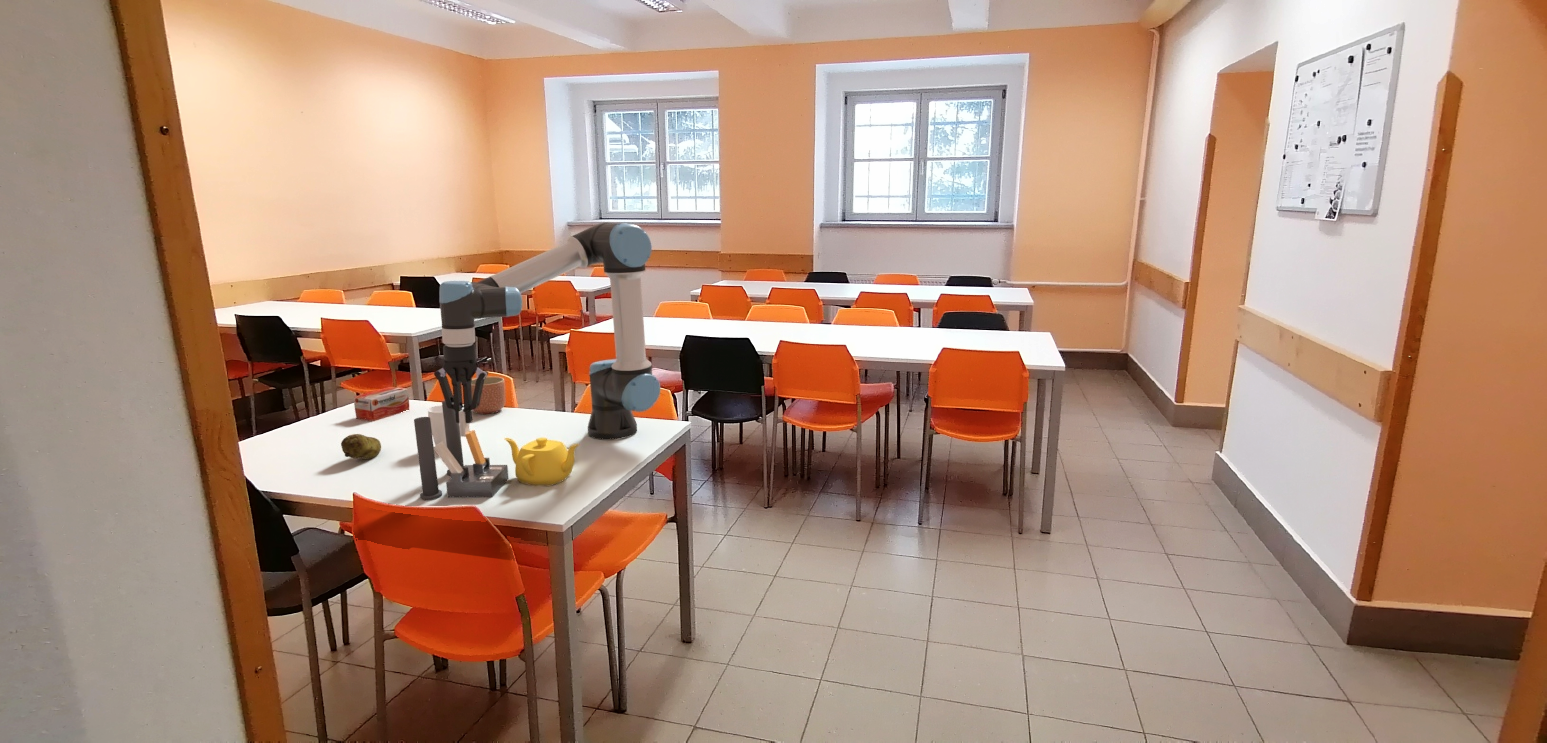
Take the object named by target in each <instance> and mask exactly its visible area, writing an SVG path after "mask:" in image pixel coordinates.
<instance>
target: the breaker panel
mask: <svg viewBox="0 0 1547 743" xmlns="http://www.w3.org/2000/svg"><path fill="white" fill-rule="evenodd" d="M484 458H485V461H486V462H487V465H486V466H485V467H483V464H475V463H472V464H464V467H462V469H463V470H465V472H466V473H465V475H464V476H463V477H462V476H461V473H451V474H450V475H451V476H450V478H449V479H448V480H447V481H445V484H446V496H447V498H493V497H494V496H495V495H496V494H497V492H498V491H500V490H501V489H502V487H503V486H504V485H505V484H506V483H507V482H508V481H509V478H510V477H509V470H508V469H509V468H508V464H491V461H490V457H484Z"/></svg>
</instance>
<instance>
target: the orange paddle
mask: <svg viewBox="0 0 1547 743" xmlns="http://www.w3.org/2000/svg"><path fill="white" fill-rule="evenodd" d="M465 436H466V437H465V439H466V441H467V444H468V447H469V449H470V452H471V455H472V458H473V460H474V464H483V467H485V466H486V465H487V462H486V461H485V458H486V457H485V456H484V453H483V450H482V447H481V445H480V444H481V443H480V441H479V439H478V436H477V433H476V431H475V430H473V429H472V430H470V431H469V432H468V433H467V434H465Z"/></svg>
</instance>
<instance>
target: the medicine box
mask: <svg viewBox="0 0 1547 743" xmlns="http://www.w3.org/2000/svg"><path fill="white" fill-rule="evenodd" d="M408 391H409V390H408V388H403V387H396V386H388V387H384V388H380V389H377V390H373V391H370V392H366V393H363V394H359V395H358V394H357V395H355V396H353V405H354V412H355V418H356V419H357V420H365V421H368V422H375V421H379V420H382V419H383V420H384V419H385V418H389V417H392V416H395V415H398V414H402V413H404V412H403V411H406V410H409V411H410V398H409V392H408ZM401 412H402V413H401ZM406 412H407V411H406Z"/></svg>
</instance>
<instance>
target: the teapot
mask: <svg viewBox="0 0 1547 743" xmlns="http://www.w3.org/2000/svg"><path fill="white" fill-rule="evenodd" d="M504 440H505V441H506V442H507V443H508V444H509V445H510V449H511V456H512V461H513V463H514V465H515V468H514V469H515V471H514V473H515V477H516V479H517V480H518V481H519V482H520V484H521V483H522V484H524V483H525V485H529V484H530V486H538V485H548V486H553V485H552V484H555V485H557V484H556V483H558V484H560V483H562V482H563V481H564V480H566V479H567V478H568V477H570V475H571V473H572V470H573V467H574V465H575V451H576V449H577V447H579V446H580V443H577V444H576V443H575V444H572V445H570V446H569V448H567V447H566V445H565V444H564V442H562V441H559V440H554V439H548V438H547V437H539V438H536V439H535V440H532V441H529V442H528V443H526V444H524V445H523V446H521V447H520V449H519V446H518V444H517V442H516V440H514V439H512V438H508V437H504ZM565 478H566V479H565ZM562 480H563V481H562ZM559 482H560V483H559Z"/></svg>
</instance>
